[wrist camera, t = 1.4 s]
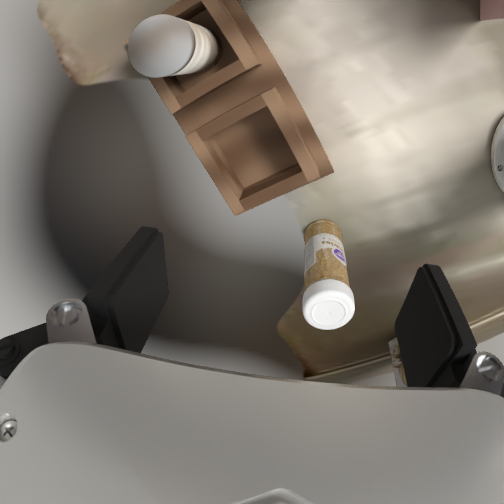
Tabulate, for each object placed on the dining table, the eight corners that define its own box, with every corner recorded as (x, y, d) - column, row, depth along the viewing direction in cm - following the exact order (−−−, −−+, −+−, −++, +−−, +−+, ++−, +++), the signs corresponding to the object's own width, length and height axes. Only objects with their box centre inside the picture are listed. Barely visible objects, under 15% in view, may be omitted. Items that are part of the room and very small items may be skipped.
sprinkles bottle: (348, 228, 37) (365, 304, 26) (329, 257, 39) (337, 337, 28) (314, 211, 36) (319, 285, 25) (296, 242, 39) (293, 321, 28)
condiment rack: (333, 169, 33) (346, 214, 24) (237, 211, 38) (216, 266, 28) (222, -21, 24) (188, -55, 14) (130, 40, 28) (68, 39, 18)
